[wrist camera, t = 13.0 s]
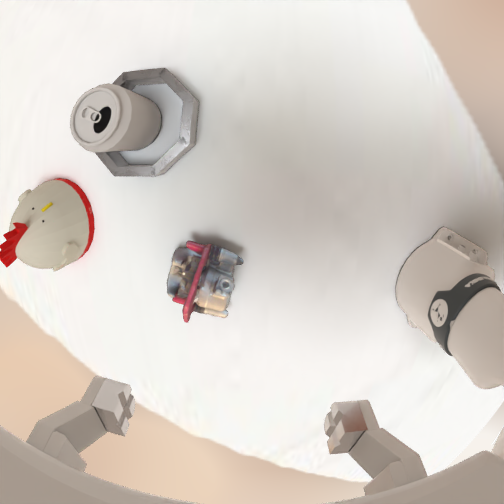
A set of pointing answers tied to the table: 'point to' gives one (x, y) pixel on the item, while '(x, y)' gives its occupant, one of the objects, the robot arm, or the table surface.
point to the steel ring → (187, 131)
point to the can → (114, 120)
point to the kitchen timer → (49, 226)
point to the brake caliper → (202, 279)
